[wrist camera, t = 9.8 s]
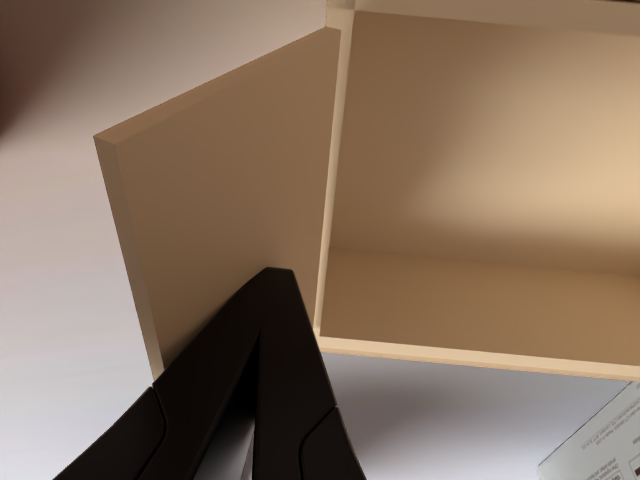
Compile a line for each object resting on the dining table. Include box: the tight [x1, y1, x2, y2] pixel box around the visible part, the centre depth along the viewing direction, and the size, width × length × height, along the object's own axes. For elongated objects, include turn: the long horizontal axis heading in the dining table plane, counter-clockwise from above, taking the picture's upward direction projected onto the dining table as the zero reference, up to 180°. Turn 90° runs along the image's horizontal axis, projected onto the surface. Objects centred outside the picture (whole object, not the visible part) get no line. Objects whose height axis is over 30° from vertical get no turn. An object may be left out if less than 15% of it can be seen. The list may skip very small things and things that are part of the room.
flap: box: [93, 27, 341, 381], centre depth 9 cm, size 9×5×1 cm
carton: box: [313, 0, 640, 382], centre depth 13 cm, size 11×13×4 cm
